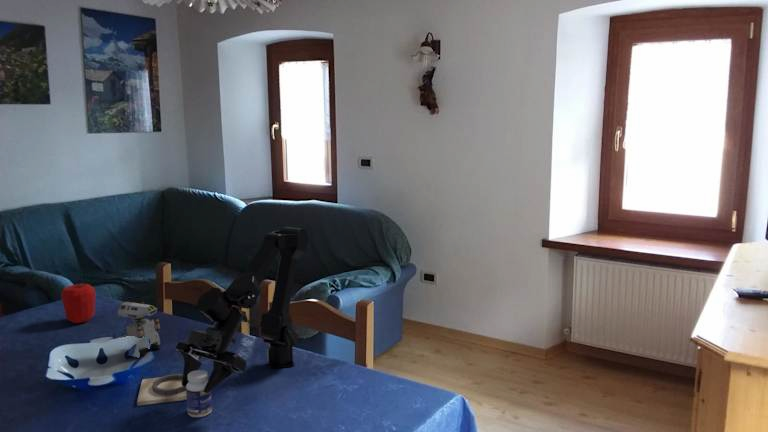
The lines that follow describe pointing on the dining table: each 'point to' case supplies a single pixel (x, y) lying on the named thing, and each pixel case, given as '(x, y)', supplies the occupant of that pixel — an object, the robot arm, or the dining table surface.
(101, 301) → the dining table surface
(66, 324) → the dining table surface
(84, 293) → the apple
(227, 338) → the robot arm
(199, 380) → the pill bottle
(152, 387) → the collar board
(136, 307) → the figurine
